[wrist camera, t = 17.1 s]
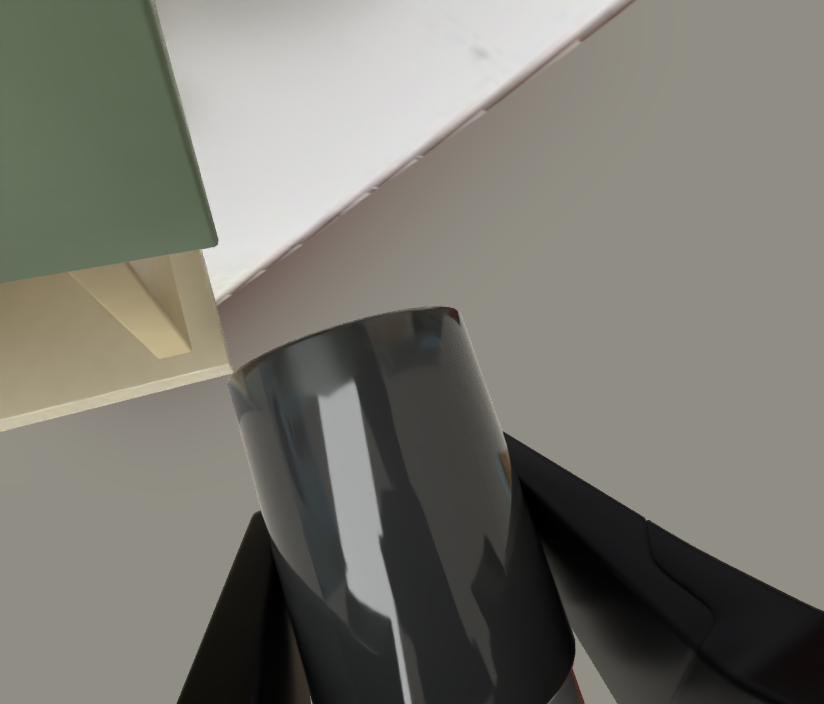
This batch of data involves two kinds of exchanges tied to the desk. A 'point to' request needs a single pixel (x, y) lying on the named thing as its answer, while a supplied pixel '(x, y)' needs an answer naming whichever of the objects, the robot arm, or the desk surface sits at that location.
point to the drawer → (106, 336)
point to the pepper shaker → (401, 519)
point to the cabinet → (92, 140)
